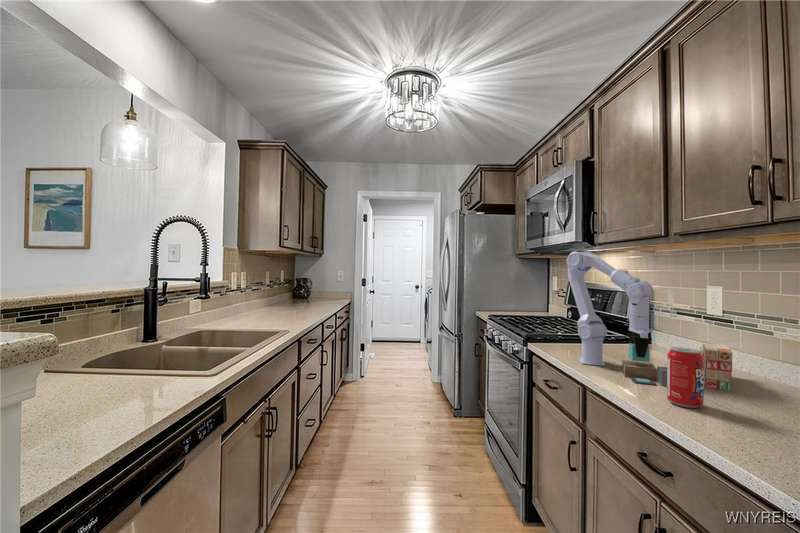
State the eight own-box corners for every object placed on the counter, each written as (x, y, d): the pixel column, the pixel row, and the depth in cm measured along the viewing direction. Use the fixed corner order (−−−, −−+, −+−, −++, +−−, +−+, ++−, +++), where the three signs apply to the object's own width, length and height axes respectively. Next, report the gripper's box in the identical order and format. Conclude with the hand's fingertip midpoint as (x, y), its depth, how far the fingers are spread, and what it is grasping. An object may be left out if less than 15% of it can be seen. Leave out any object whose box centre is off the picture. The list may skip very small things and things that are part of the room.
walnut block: (622, 371, 132) (622, 360, 132) (651, 374, 128) (652, 363, 128) (624, 377, 123) (625, 366, 124) (656, 381, 119) (656, 369, 119)
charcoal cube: (657, 381, 119) (657, 366, 119) (675, 383, 117) (675, 368, 117) (661, 386, 114) (661, 370, 114) (680, 388, 112) (681, 372, 112)
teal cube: (628, 357, 129) (628, 343, 129) (645, 358, 127) (645, 344, 127) (632, 360, 124) (632, 346, 124) (649, 362, 122) (649, 347, 122)
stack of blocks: (700, 372, 130) (700, 338, 130) (723, 375, 127) (723, 340, 127) (705, 387, 113) (705, 348, 113) (732, 392, 110) (732, 351, 110)
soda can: (660, 398, 102) (660, 346, 103) (687, 399, 102) (688, 346, 103) (681, 409, 95) (682, 352, 95) (711, 410, 95) (712, 352, 95)
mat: (630, 378, 122) (630, 376, 122) (651, 380, 120) (651, 378, 120) (634, 383, 117) (634, 381, 117) (656, 385, 114) (656, 384, 114)
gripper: (659, 319, 117) (658, 361, 117) (647, 314, 131) (646, 352, 131) (633, 318, 120) (633, 359, 120) (624, 313, 133) (624, 350, 133)
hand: (638, 355), depth 126 cm, fingers closed on teal cube, 5 cm apart
